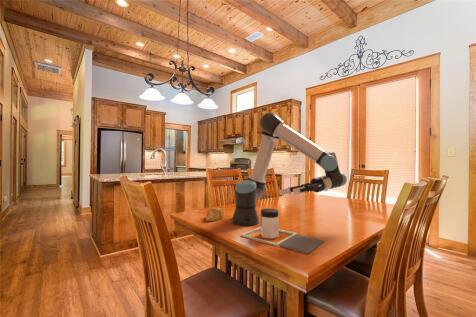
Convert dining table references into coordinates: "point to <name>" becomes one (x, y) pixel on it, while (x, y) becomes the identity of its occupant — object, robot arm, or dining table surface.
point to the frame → (269, 241)
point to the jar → (269, 223)
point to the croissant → (214, 214)
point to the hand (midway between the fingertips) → (286, 192)
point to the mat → (302, 244)
